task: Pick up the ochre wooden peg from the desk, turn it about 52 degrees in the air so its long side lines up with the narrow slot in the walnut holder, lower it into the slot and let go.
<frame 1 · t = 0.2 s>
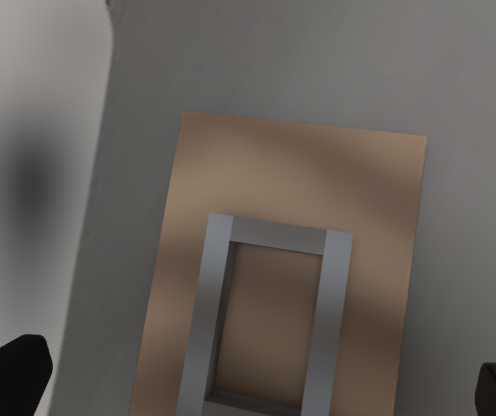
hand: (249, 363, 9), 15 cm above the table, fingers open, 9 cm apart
socket holder: (270, 320, 24), on the table
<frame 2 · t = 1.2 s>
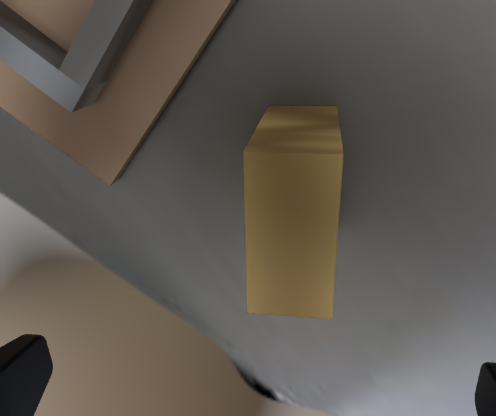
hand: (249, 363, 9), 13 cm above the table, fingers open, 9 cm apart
keyed peg: (300, 170, 21), on the table
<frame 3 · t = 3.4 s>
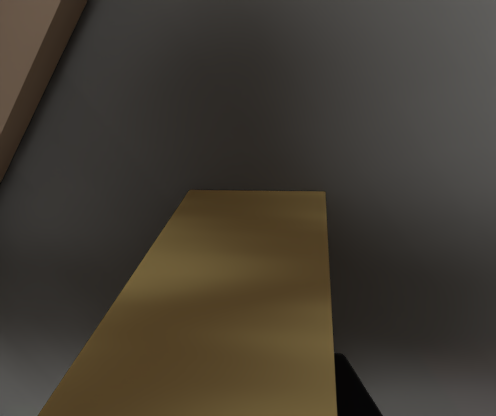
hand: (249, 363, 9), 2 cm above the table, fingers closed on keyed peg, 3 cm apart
keyed peg: (260, 303, 11), on the table, touching gripper
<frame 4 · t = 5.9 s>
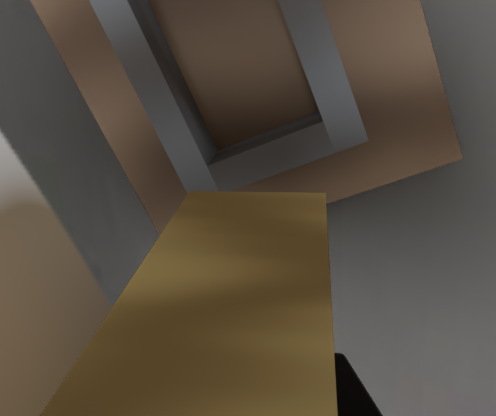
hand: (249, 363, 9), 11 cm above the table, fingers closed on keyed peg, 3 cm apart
keyed peg: (260, 304, 11), point 9 cm above the table, touching gripper
socket holder: (234, 36, 17), on the table
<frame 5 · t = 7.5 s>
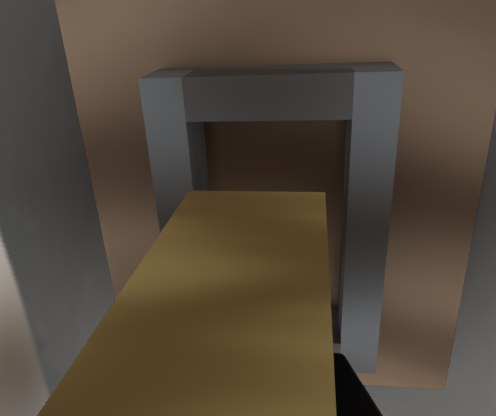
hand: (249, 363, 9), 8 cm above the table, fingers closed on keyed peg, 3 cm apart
keyed peg: (260, 304, 11), point 6 cm above the table, touching gripper
socket holder: (277, 202, 16), on the table
when the fingers open (4 cm above the table, at t = 8.6 s): keyed peg stays where it is, resting on socket holder.
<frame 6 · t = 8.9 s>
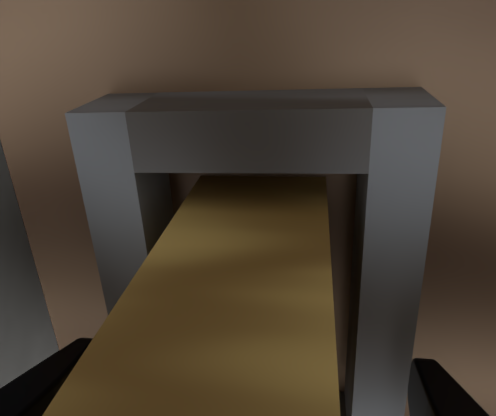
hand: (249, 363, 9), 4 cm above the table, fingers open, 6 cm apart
keyed peg: (265, 282, 12), point 1 cm above the table, touching socket holder
socket holder: (267, 260, 13), on the table
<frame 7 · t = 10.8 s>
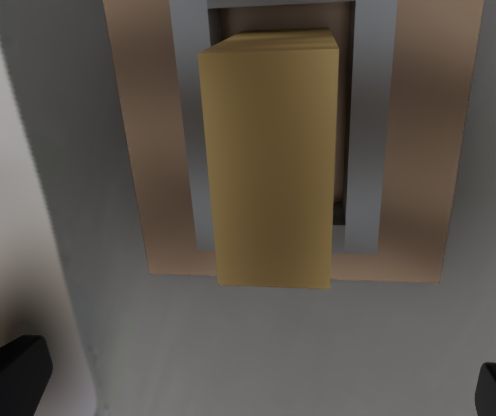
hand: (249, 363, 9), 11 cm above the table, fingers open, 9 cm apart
keyed peg: (286, 113, 17), point 1 cm above the table, touching socket holder
socket holder: (286, 106, 18), on the table
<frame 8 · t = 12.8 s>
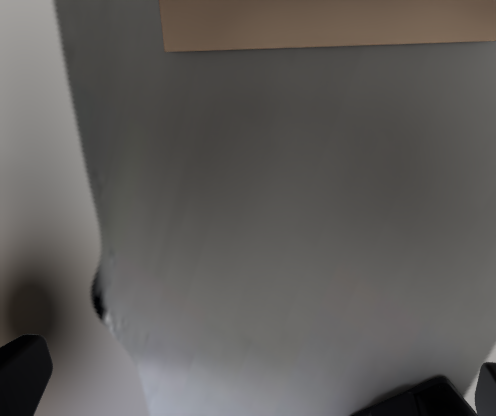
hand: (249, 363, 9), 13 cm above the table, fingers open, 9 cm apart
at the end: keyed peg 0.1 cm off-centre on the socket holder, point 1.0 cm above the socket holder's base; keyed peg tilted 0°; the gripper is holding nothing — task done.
